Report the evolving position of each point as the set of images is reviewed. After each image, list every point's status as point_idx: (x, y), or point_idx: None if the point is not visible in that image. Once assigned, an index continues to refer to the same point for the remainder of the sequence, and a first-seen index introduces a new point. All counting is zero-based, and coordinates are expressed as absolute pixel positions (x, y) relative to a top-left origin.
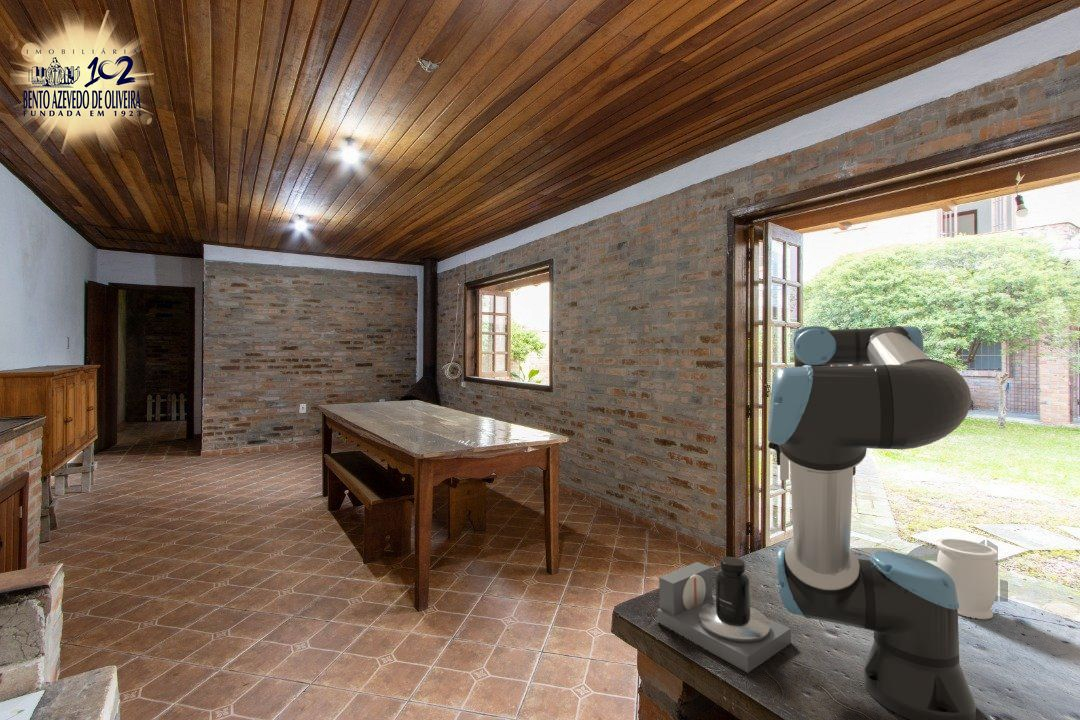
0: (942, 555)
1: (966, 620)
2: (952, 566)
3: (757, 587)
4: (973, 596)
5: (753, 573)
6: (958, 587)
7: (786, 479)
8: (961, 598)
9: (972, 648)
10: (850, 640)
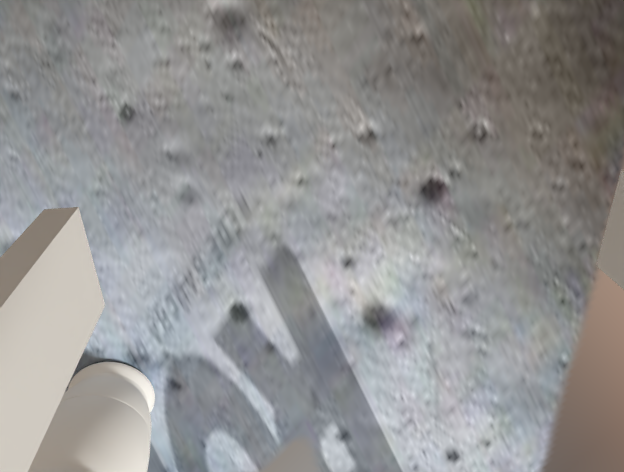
0: (104, 469)
1: (91, 349)
2: (76, 441)
3: (491, 103)
4: (62, 399)
5: (540, 181)
6: (83, 401)
7: (608, 228)
8: (89, 385)
9: (16, 231)
10: (178, 18)
